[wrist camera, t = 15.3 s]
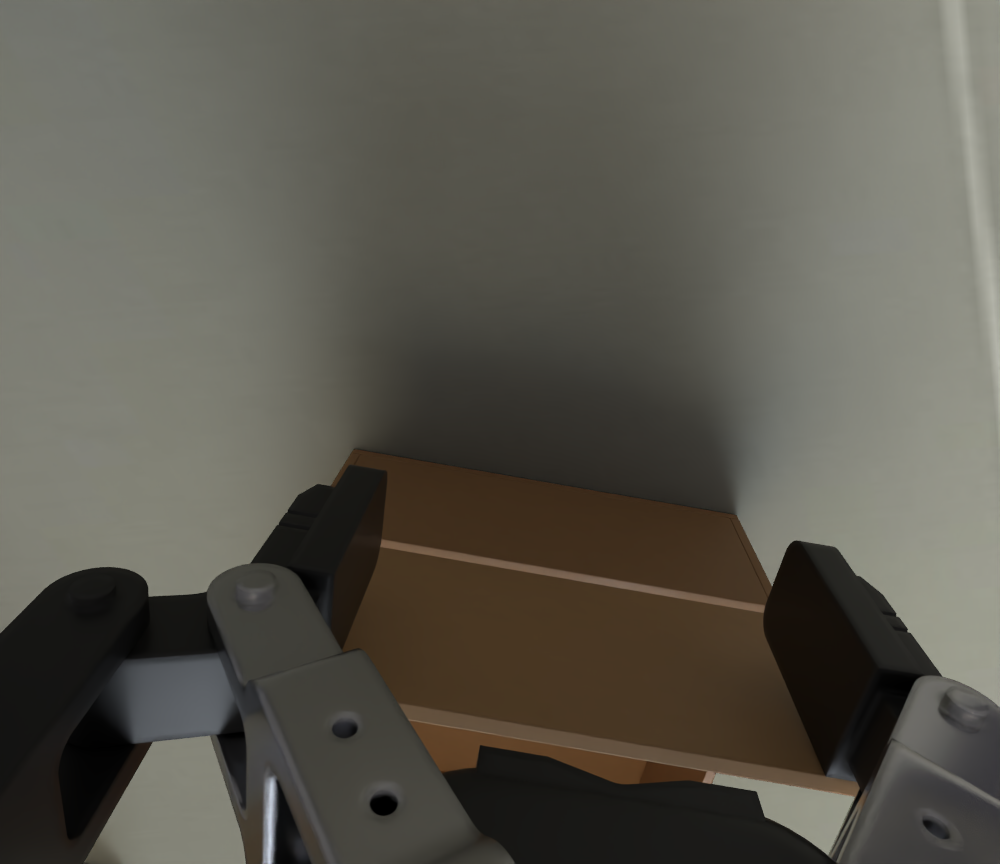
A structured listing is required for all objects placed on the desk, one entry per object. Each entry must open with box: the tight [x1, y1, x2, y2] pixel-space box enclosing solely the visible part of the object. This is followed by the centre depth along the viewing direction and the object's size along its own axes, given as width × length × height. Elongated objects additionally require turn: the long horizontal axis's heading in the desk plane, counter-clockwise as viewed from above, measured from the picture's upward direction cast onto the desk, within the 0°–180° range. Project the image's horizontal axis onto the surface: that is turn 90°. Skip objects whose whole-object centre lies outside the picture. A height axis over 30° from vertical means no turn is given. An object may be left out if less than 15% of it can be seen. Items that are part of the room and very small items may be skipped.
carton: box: [331, 449, 772, 784], centre depth 23 cm, size 14×13×5 cm
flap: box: [342, 547, 859, 797], centre depth 14 cm, size 7×12×1 cm
